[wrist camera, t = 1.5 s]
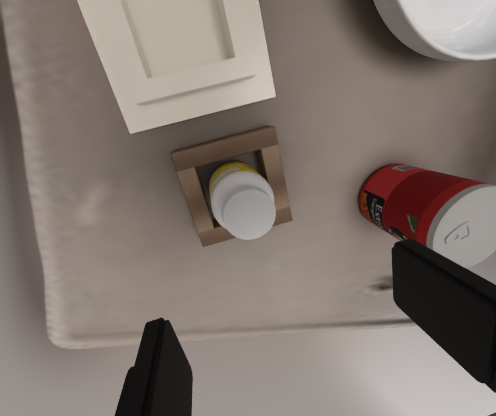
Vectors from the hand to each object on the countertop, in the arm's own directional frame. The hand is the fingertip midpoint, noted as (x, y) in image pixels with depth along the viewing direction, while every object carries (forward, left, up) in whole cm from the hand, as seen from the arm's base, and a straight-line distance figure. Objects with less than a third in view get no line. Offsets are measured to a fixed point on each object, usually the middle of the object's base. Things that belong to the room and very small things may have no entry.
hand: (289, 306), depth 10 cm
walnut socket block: (0, 0, -19) cm, 19 cm away
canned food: (+6, +18, -19) cm, 27 cm away
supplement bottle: (0, 0, -19) cm, 19 cm away
